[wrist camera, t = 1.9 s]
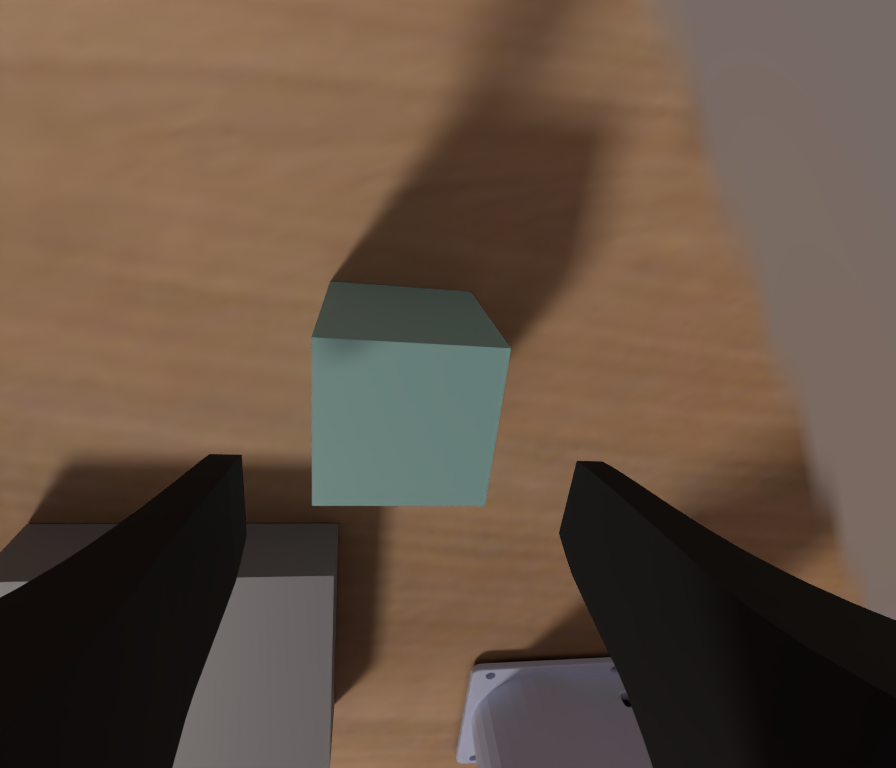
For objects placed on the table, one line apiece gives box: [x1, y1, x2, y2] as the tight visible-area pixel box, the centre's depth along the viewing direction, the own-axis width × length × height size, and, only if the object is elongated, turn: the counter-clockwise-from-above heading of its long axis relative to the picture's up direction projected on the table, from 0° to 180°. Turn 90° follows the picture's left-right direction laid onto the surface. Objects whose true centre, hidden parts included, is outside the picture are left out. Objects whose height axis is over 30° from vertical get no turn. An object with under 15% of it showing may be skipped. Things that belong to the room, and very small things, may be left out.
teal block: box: [312, 281, 511, 506], centre depth 16 cm, size 5×5×6 cm
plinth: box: [0, 523, 339, 768], centre depth 22 cm, size 12×12×3 cm
